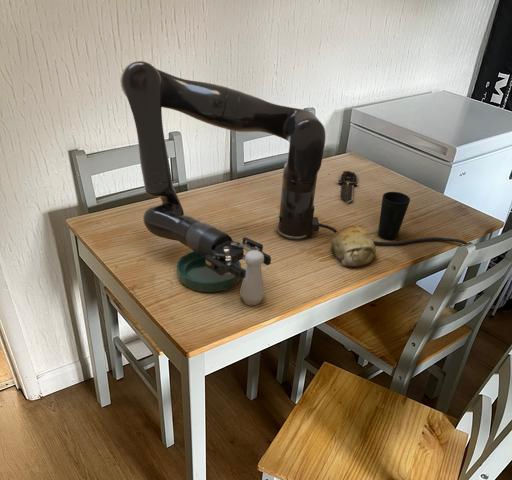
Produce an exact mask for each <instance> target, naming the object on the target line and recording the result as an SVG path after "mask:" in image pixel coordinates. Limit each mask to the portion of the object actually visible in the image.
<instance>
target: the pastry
mask: <svg viewBox="0 0 512 480" xmlns="http://www.w3.org/2000/svg"><path fill="white" fill-rule="evenodd" d="M337 231H338V232H336V233H334V234H333V239H332V240H331V241H330V245H331V249H332V251H333V255H334V256H335V257H336V259H337V260H338V261H339V262H341V265H342V266H343V267H352V268H353V267H360V266H365V265H369V264H370V263H372V261H373V258H374V257H375V256H376V254H377V249H376V244H374V242H373V241H374V240H373V239H372V238H371V235H370V233H369V231H368V230H366V228H364V226H362V225H349V226H345V227H343V228H341V229H340V230H337Z"/></svg>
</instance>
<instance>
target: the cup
mask: <svg viewBox="0 0 512 480" xmlns="http://www.w3.org/2000/svg"><path fill="white" fill-rule="evenodd" d="M410 202H411V197H410V196H409V195H407V194H405V193H402V192H398V191H387V192H385V193H383V194H382V199H381V206H380V215H379V221H378V222H379V223H378V231H377V236H378V237H379V238H380V239H382V240H385V241H395V240H396V239H397V237H398V235H399V232H400V230H401V227H402V225H403V224H402V223H403V221H404V219H405V216H406V213H407V211H408V209H409V205H410Z"/></svg>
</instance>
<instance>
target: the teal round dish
mask: <svg viewBox="0 0 512 480" xmlns="http://www.w3.org/2000/svg"><path fill="white" fill-rule="evenodd" d="M223 264H224V263H223ZM232 264H233V263H232ZM234 264H236V265H237V266H239V267H241V268H242V263H241V260H239V261H237V262H236V263H234ZM218 268H219V267H218ZM176 276H177V278H178V280H179V282H180V283H181V284H182V285H183V286H185V287H186V288H189V289H191V290H193V291H198V292H201V293H217V292H222V291H226V290H228V289H231V288H233V287H234V286H236V285H237V284H238V283H239V282H240V280H241V278H239V277H237V276H235V275H233V274H228V273H224V275H219V274H217V273H216V272H214V271H213V270H211V269H210V268H208V267H206V264H205V257H203V256H201V255H200V254H198V253H196V252H194V251H193V250H192V251H190V252H186V253H185V254H183V255H181V257H179V259H178V261H177V263H176Z"/></svg>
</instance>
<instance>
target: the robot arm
mask: <svg viewBox="0 0 512 480" xmlns="http://www.w3.org/2000/svg"><path fill="white" fill-rule="evenodd" d="M120 87H121V91H122V93H123V94H124V96H125V97H126V99H127V101H128V104H129V107H130V111H131V113H132V117H133V119H134V125H135V129H136V134H137V135H136V136H137V144H138V154H139V161H140V168H141V175H142V179H143V185H144V190H145V193H146V194H147V195H148V196H150V197H159V199H160V200H161V203H160V204H157V205H154V206H150V207H149V208H147V209H146V210H145V211H144V214H143V215H142V216H143V224H144V226H145V228H146V229H147V231H148V232H150V233H151V234H152V235H154V236H156V237H159V238H161V239H166V240H170V241H174V242H175V241H176V242H179V243H180V244H181V245H184V246H186V247H187V248H189V249H190V250H192V251H194V252H196V253H198V254H200V255H201V256H203V257H205V264H206V267H208V268H210V269H211V270H213V271H214V272H216V273H217V274H219V275H224V273H228V274H233V275H235V276H237V277H239V278H240V279H242V280H243V279H244V278H245V277H246V268H243V267H242V266H241V267H239V266H237V265H236V264H234V263H236V262H237V261H242V260H244V261H245V256H246V254H245V251H246V253H248V252H249V251H252V250H257V251H260V252H261V253H263V255H264V262H263V265H265V266H269V265H271V264H272V257H271V255H270V254H267V253H266V252H264V251H263V250H264V249H263V248H264V244H262V243H260V242H257V241H255V240H253V239H251V238H249V237H246V236H245V237H242V241H240V242H238V241H234V240H233V238H232V237H231V235H230V234H228V233H227V232H225V231H223V230H221V229H218V227H215V226H213V225H211V224H209V223H205V222H203V221H201V220H199V219H197V218H196V217H193V216H191V215H188V214H187V215H186V214H185V212H184V209H183V206H182V203H181V201H180V199H179V196H178V194H177V192H176V190H175V187H174V185H173V177H172V172H171V165H170V159H169V155H168V150H167V145H166V140H165V133H164V132H165V131H164V126H163V114H162V109H163V108H164V109H169V110H173V111H176V112H179V113H182V114H184V115H186V116H189V117H191V118H193V119H195V120H197V121H200V122H202V123H205V124H208V125H210V126H214V127H217V128H221V129H225V130H227V131H231V132H237V133H238V132H239V133H254V132H256V133H257V132H259V133H265V134H268V135H269V134H270V135H273V136H276V137H278V138H281V139H282V140H286V141H287V142H289V146H288V156H287V161H286V162H285V163H284V165H283V172H282V173H283V174H282V183H281V192H280V193H281V194H280V203H279V212H278V215H277V218H278V224H277V233H278V235H279V236H281V237H282V238H284V239H287V240H292V241H293V240H294V241H299V240H304V239H307V238H311V235H312V232H313V233H319V231H320V228H324V229H326V230H329V231H332V232H333V233H334V234H335V233H336V232H338V231H339V230H337V229H335V228H334V227H333V226H330V225H327V224H323V223H320V221H319V217H318V216H314V215H315V203H314V202H315V196H316V195H315V194H316V189H317V181H318V173H319V171H320V170H321V168H322V162H323V157H324V151H325V146H326V128H325V126H324V125H323V123H322V122H321V120H320V119H319V118H318V117H317V116H316V114H314V113H313V112H311V111H310V110H307V109H302V108H297V107H291V106H285V105H280V104H277V103H272V102H269V101H266V100H264V99H262V98H260V97H257V96H254V95H252V94H248V93H245V92H243V91H241V90H236V89H234V88H230V87H227V86H224V85H219V84H215V83H210V82H204V81H199V80H198V81H197V80H190V79H185V78H182V77H178V76H175V75H172V74H170V73H168V72H165V71H164V70H161V69H158V68H156V67H155V66H154V65H152V64H151V63H149V62H147V61H143V60H136V61H134V62H133V61H132V62H130V63H129V64H127V65H126V67H125V68H124V69H123V70H122V73H121V76H120ZM372 241H373V242H374V245H378V246H401V245H405V244H412V243H419V242H429V241H442V242H453V243H459V244H463V245H464V246H466V245H465V244H467V243H468V242H467V241H465V240H462V239H458V238H449V237H448V238H446V237H438V236H436V237H435V236H433V237H432V236H431V237H421V238H413V239H407V240H400V241H376V240H372ZM244 250H245V251H244ZM223 263H224V264H223ZM232 263H233V264H232ZM218 267H219V268H218Z"/></svg>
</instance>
